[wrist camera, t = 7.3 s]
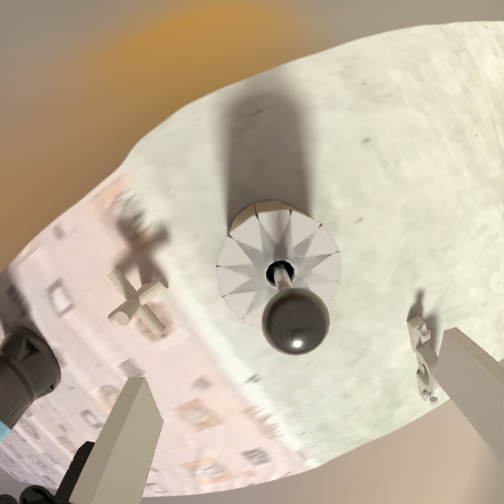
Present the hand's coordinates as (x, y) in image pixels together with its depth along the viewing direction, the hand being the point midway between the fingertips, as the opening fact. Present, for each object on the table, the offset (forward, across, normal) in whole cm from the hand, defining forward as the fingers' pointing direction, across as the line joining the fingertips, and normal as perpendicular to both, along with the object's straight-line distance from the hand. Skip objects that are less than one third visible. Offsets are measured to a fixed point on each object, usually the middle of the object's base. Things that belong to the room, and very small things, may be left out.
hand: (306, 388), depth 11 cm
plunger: (+26, +1, 0) cm, 26 cm away
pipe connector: (+29, -17, -5) cm, 34 cm away
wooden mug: (+29, +1, -2) cm, 29 cm away
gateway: (+29, +26, -25) cm, 46 cm away
